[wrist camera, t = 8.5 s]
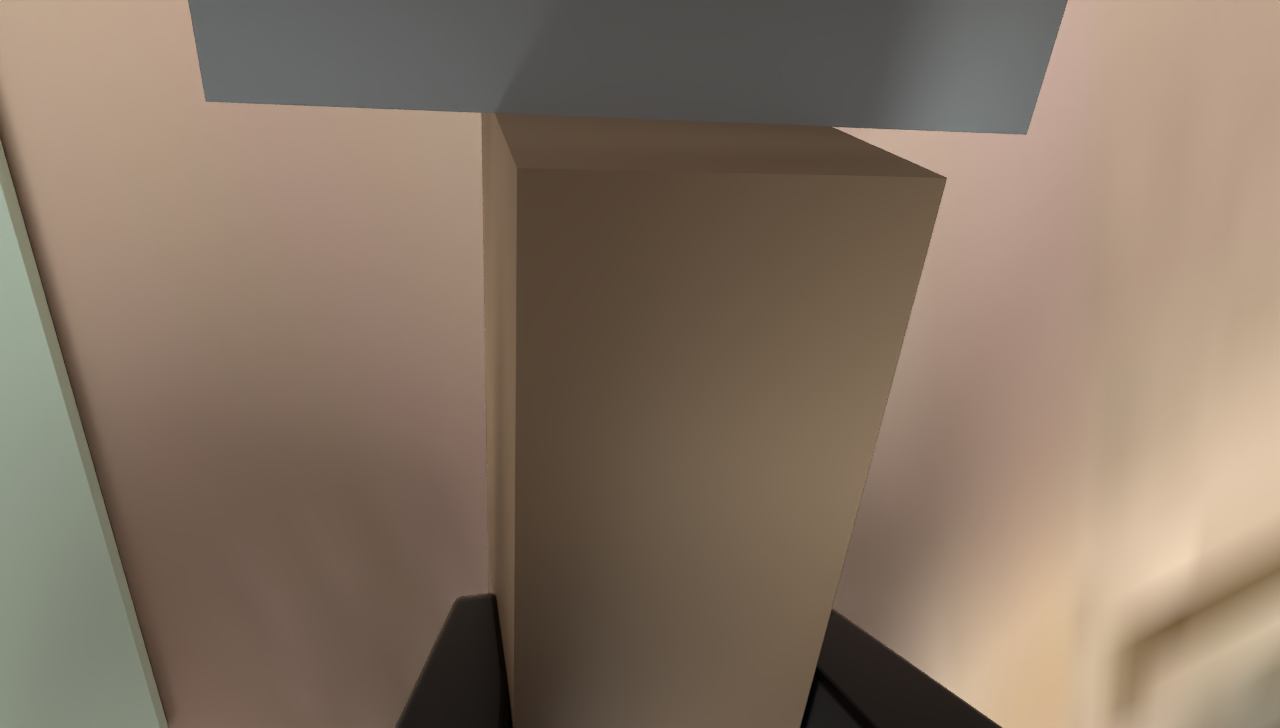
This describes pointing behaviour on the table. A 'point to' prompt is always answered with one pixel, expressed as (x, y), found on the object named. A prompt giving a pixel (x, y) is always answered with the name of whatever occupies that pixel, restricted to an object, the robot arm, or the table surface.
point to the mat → (56, 531)
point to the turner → (671, 300)
